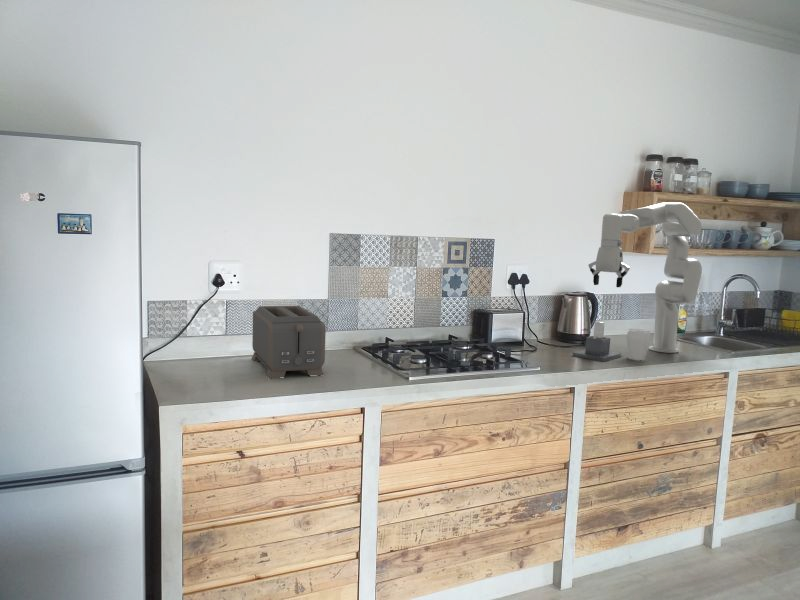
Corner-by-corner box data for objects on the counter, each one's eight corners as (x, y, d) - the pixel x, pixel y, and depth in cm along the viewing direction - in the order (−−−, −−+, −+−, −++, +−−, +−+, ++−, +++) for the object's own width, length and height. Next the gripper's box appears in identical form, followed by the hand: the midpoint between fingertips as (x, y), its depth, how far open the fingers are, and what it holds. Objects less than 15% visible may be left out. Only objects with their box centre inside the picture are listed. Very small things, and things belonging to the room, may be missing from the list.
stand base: (590, 351, 286) (592, 331, 285) (621, 356, 276) (622, 335, 275) (572, 355, 274) (574, 334, 273) (603, 361, 265) (605, 340, 264)
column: (594, 351, 278) (597, 321, 276) (604, 352, 275) (606, 322, 273) (589, 352, 275) (592, 322, 273) (599, 354, 272) (602, 323, 270)
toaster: (270, 382, 212) (271, 320, 209) (250, 359, 244) (251, 305, 241) (327, 378, 219) (329, 318, 217) (301, 357, 251) (302, 304, 249)
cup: (649, 361, 268) (652, 333, 267) (626, 360, 270) (629, 331, 268) (645, 357, 277) (648, 329, 275) (623, 355, 279) (626, 328, 277)
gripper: (634, 245, 264) (631, 287, 266) (594, 243, 275) (591, 283, 277) (627, 245, 258) (624, 288, 260) (586, 243, 269) (583, 284, 272)
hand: (607, 285), depth 269 cm, fingers open, 9 cm apart
